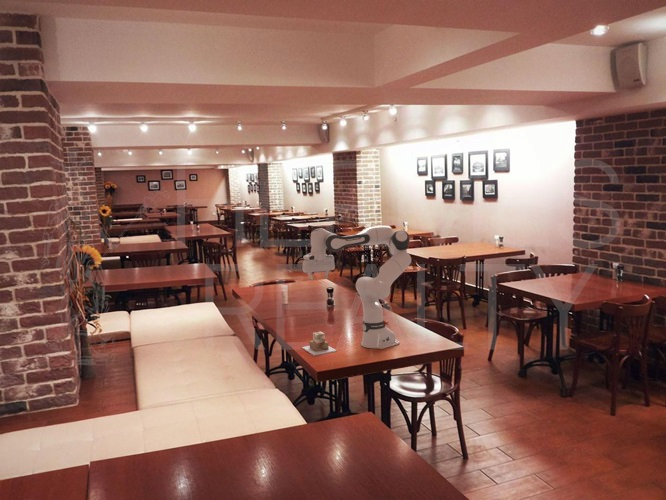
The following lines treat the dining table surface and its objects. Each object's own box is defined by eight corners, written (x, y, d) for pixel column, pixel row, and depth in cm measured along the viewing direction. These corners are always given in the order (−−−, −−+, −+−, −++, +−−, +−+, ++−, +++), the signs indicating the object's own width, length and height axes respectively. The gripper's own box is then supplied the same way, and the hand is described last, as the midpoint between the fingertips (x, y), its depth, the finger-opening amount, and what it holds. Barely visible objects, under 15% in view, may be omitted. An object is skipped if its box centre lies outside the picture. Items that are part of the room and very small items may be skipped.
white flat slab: (323, 344, 308) (323, 343, 308) (336, 351, 294) (336, 350, 294) (301, 348, 302) (301, 347, 302) (313, 355, 288) (313, 354, 288)
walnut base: (322, 345, 303) (322, 338, 303) (328, 349, 296) (328, 342, 296) (309, 347, 300) (309, 341, 299) (315, 351, 293) (315, 344, 292)
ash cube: (321, 340, 301) (320, 331, 300) (325, 342, 296) (324, 333, 296) (313, 341, 298) (312, 332, 298) (316, 343, 294) (316, 334, 293)
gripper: (331, 253, 321) (332, 276, 323) (300, 256, 312) (301, 279, 314) (336, 254, 316) (336, 277, 318) (305, 257, 307) (306, 281, 308)
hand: (319, 278), depth 316 cm, fingers open, 8 cm apart
